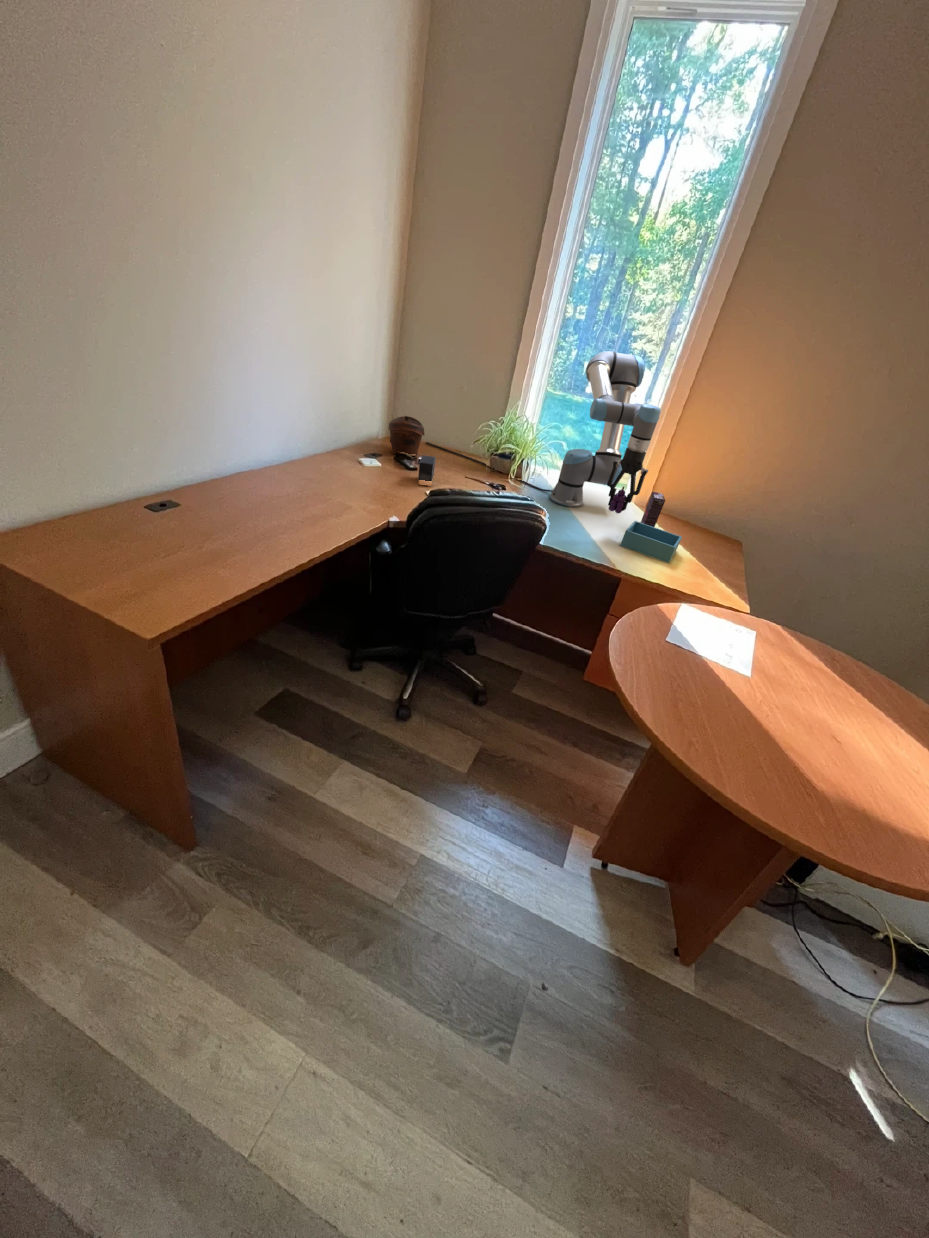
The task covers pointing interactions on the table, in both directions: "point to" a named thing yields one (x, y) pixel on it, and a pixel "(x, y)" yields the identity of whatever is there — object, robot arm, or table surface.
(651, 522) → the supplement box
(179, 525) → the table surface
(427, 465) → the small box
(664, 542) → the bin
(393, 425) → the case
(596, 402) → the robot arm
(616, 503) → the grapes
